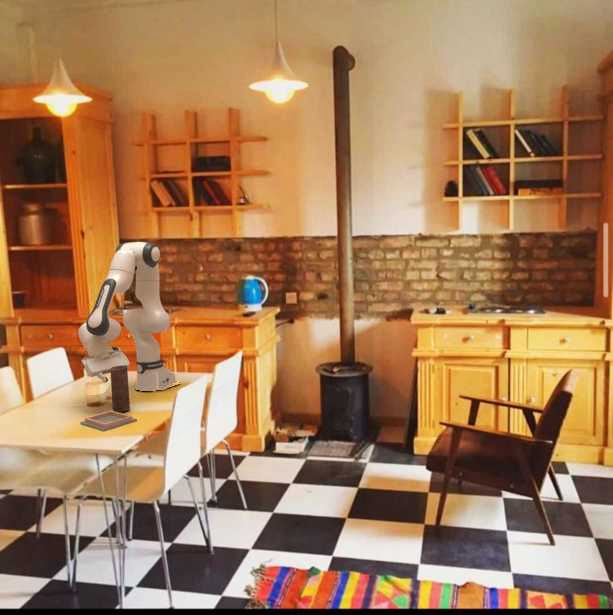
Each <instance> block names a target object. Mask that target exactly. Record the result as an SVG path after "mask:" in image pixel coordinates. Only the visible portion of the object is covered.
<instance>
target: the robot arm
mask: <svg viewBox="0 0 613 615" xmlns="http://www.w3.org/2000/svg"><path fill="white" fill-rule="evenodd" d="M160 259H161V249H160V247H159V246H158V245H157V244H156V243H154V242H153V243H152V242H145V241H136V242H135V241H133V242H122V243H120V244H118V245H117V247H116V249H115V251H114V254H113V258H112V260H111V263H110V265H109V270H108V273H107V277H106V278H105V280H104V281H103V283H102V284H101V287H100V290H99V292H98V294H97V298H96V300H95V303H94V307H93V308H92V311H91V312H90V314H89V315H88V317H87V319H86V320H85V321H86V322H84V323H83V324H81V325H80V327H79V328H78V329H77V330H78V331H77V335H78V338H79V341H80V343H81V344H82V346H83V347H84V348H85V350H86V351H87V354H88V357H84V358H83V359H81V363H82V365H83V366H84V370H85V373H86V374H87V376H88V377H90V378H94V377H97V379H99V380H100V381H102V382H103V383H108V381H109V379H108V377H107V376H104V375H106V374H111V373H110V369H111V368H112V367H113V366H121V365H127V369H128V368H129V367H130V364H131V363H130V361H129V358H128V357H127V356H126V355H125V353H124V352H122V349H121V348H120V347H119V346H113V345H109V343H111V342H113V341H114V340H116V339H117V338H118V337H119V336H120V335H121V333H122V326H121V324H120V322H119V321H117V320H116V319H114V318H112V317H110V316H109V310H110V308H111V304H112V301H113V298H114V296H116V295H117V294H121V293H124V292H126V291H128V290H129V289H130V288H131V286H132V284H133V280H134V275H135V271H136V275H135V297H136V299H137V300H139V301H140V303H141V305H142V308H132V309H128V310H127V311H125V312H124V314H123V317H122V323H123V326H124V327H125V329H127V330H128V331H129V333H130V335H131V336H132V338H133V342H134V345H135V350H136V351H135V352H136V361H135V363H136V364H135V366H136V367H135V368H136V382H135V383H136V384H135V387H134V390H135V389H136V390H140V391H139V392H141V391H153V390H164V389H166V388H168V387H170V386H173V383H176V376H175V372H174V371H172V370H171V369H169V368H167V366H165V364H167V363H168V360H167V359H166V358H163V359H162V358H161V348H160V347H161V346H160V343H159V341H158V340H157V339H155V337H154V336H153V334H152V333H154V334H158V333H159V334H160V333H164V332H167V331H168V329H169V328H170V326H171V322H172V321H171V316H170V315H169V313H168V312H166V310H165V308H164V307H163V305H162V302H161V296H160V278H161V277H160V268H159V261H160ZM136 268H137V269H136ZM136 390H135V391H136ZM164 391H165V390H164ZM153 392H154V391H153Z"/></svg>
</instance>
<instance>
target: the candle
mask: <svg viewBox="0 0 613 615" xmlns="http://www.w3.org/2000/svg"><path fill="white" fill-rule="evenodd" d="M128 371H129V370H128V368H127V365H121V366H113V367H112V368H111V369H110V373H109V374H110V386H111V388H110V389H111V390H110V391H111V407H112V411H115V412H119V413H122V412H125V411H130V409H131V405H130V404H131V402H130V390H129V388H130V387H129V375H128Z"/></svg>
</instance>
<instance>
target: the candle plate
mask: <svg viewBox="0 0 613 615" xmlns="http://www.w3.org/2000/svg"><path fill="white" fill-rule="evenodd" d="M137 421H138V418H134V417H133V415H130V414H125V413H122V412H115V411H113V410H108V411H105V412H102V413H97V414H94V415H91V416H87V417H85V418H84V420H83V421H80V425H82V426H85V427H89V428H91V427H92V429H95V430H98V431H102V432H106V431H110V430H113V429H115V428H119V427H123V426H125V425H129V424H132V423H134V422H137Z"/></svg>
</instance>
